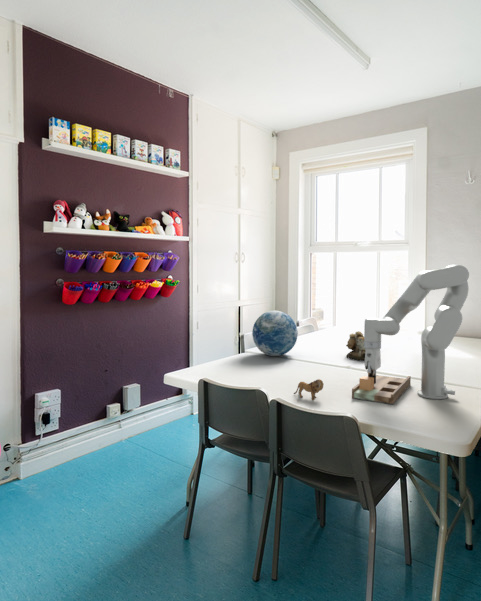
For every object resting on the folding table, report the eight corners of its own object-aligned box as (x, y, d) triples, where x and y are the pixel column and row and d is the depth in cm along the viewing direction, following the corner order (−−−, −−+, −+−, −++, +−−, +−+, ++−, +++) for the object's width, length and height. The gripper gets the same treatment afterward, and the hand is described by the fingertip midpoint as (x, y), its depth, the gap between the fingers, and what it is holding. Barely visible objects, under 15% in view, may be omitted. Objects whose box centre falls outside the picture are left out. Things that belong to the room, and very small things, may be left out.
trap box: (410, 385, 214) (410, 376, 214) (393, 404, 186) (393, 394, 185) (373, 380, 224) (373, 371, 224) (351, 398, 196) (352, 388, 195)
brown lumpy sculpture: (340, 356, 282) (340, 330, 281) (353, 354, 288) (354, 329, 286) (361, 361, 266) (361, 334, 265) (374, 359, 272) (375, 332, 271)
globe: (306, 354, 288) (306, 309, 286) (278, 362, 267) (278, 314, 264) (272, 349, 309) (271, 307, 306) (243, 356, 287) (242, 311, 285)
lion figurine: (325, 398, 197) (325, 378, 196) (321, 401, 193) (320, 381, 192) (295, 393, 205) (295, 374, 204) (290, 396, 200) (290, 377, 200)
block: (373, 388, 200) (374, 377, 200) (370, 390, 196) (370, 379, 196) (363, 386, 203) (363, 376, 203) (359, 389, 199) (359, 378, 199)
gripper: (375, 348, 193) (375, 388, 195) (385, 342, 206) (384, 380, 207) (359, 346, 198) (358, 386, 199) (369, 341, 210) (368, 378, 212)
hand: (371, 383), depth 203 cm, fingers closed
